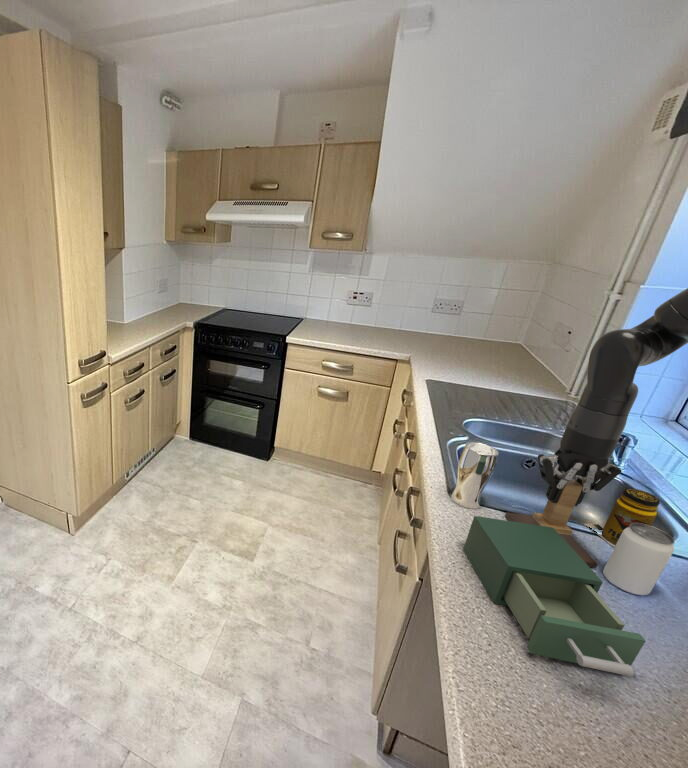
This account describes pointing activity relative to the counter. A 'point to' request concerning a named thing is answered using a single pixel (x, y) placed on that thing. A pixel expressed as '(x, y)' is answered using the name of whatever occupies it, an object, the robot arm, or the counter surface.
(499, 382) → the counter surface
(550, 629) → the drawer
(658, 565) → the can
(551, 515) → the wooden block
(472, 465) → the beer glass
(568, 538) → the thin wooden plank
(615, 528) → the condiment
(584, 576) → the cabinet
